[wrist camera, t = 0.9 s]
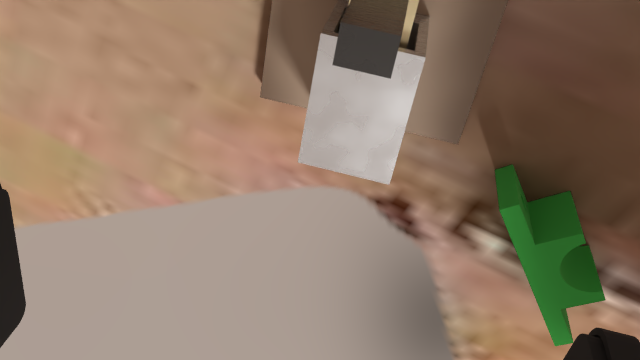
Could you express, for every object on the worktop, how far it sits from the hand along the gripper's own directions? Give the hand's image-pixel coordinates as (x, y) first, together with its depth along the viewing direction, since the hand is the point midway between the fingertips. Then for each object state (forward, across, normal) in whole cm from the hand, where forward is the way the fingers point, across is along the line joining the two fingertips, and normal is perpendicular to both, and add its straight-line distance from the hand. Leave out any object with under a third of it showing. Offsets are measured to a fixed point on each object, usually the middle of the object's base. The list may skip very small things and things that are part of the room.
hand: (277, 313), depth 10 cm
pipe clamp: (+26, -14, +15) cm, 33 cm away
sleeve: (+25, 0, +6) cm, 26 cm away
